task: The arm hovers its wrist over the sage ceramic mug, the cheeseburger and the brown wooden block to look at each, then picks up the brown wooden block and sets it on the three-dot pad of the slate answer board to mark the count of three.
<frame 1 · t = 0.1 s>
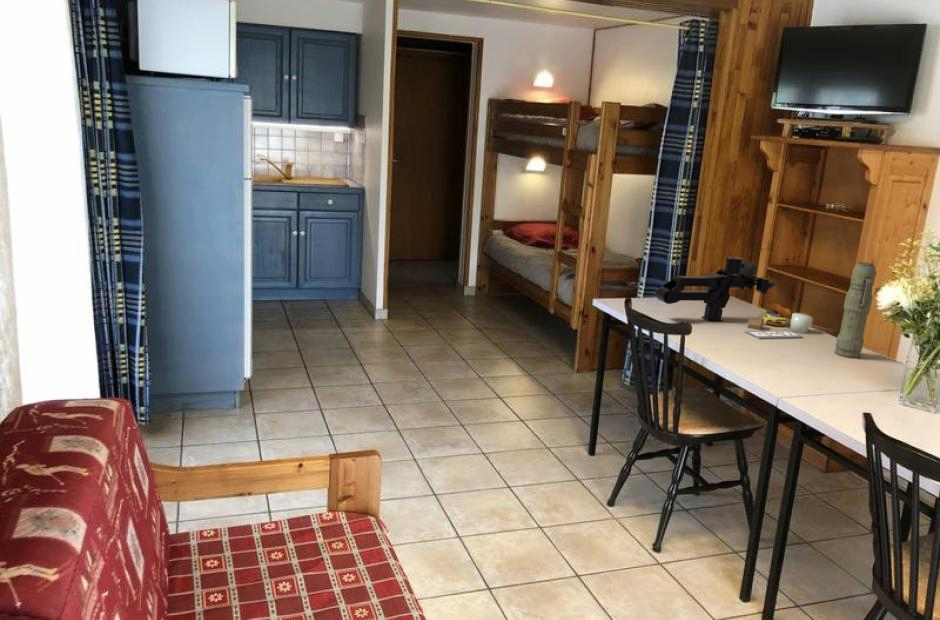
hand: (767, 281, 333), 17 cm above the table, fingers open, 9 cm apart
mug: (798, 331, 321), on the table
thermos: (846, 355, 291), on the table
cheeseburger: (774, 324, 330), on the table
answer board: (773, 335, 311), on the table
brown wooden block: (754, 328, 321), on the table
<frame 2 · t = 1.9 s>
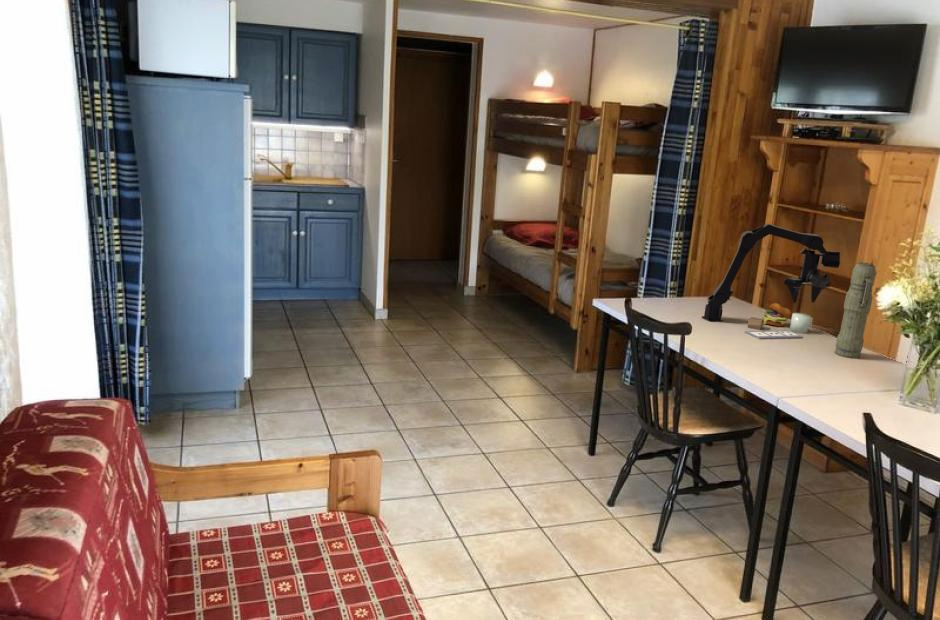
hand: (803, 302, 318), 12 cm above the table, fingers open, 9 cm apart
nothing on the table moved.
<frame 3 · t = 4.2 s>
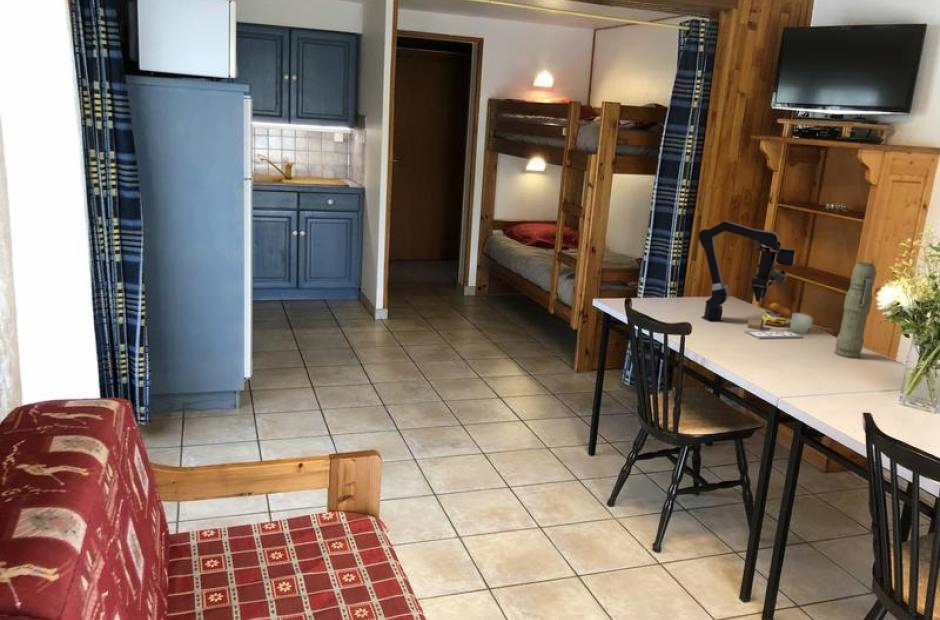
hand: (760, 299, 318), 12 cm above the table, fingers open, 9 cm apart
nothing on the table moved.
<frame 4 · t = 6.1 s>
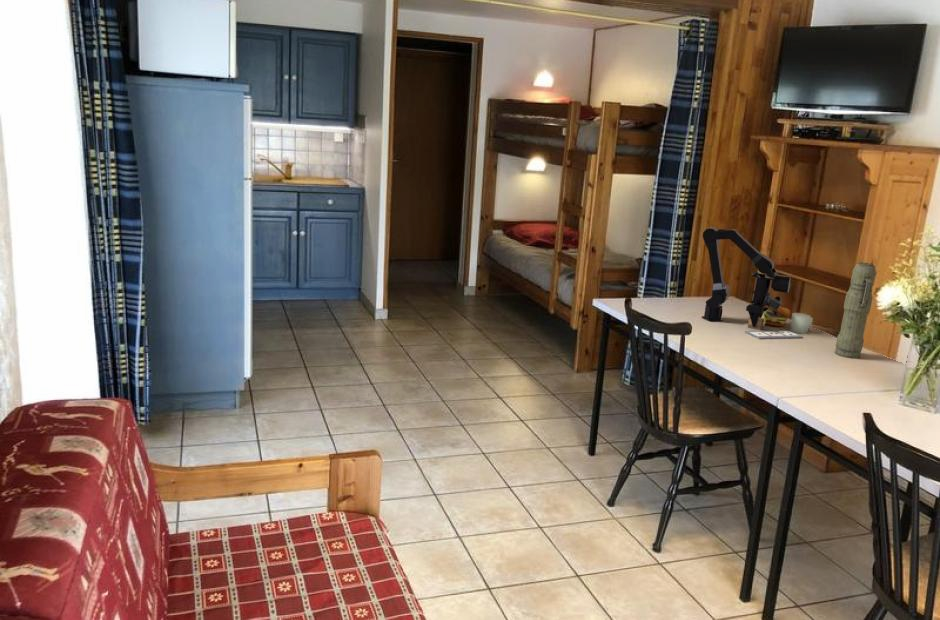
hand: (755, 325, 321), 1 cm above the table, fingers closed on brown wooden block, 5 cm apart
brown wooden block: (755, 327, 321), on the table, touching gripper
everything else where it was.
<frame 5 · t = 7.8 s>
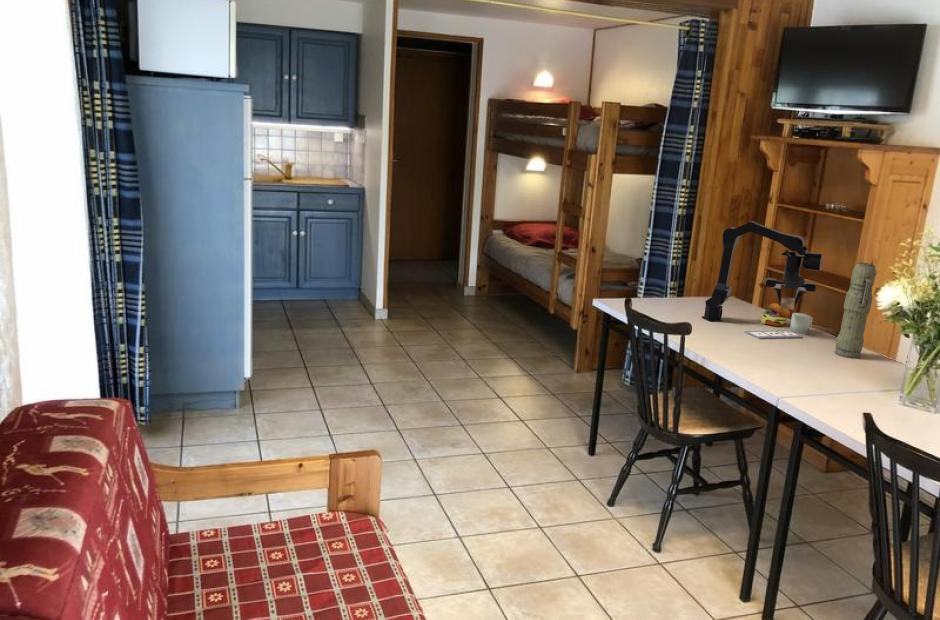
hand: (787, 305, 312), 12 cm above the table, fingers closed on brown wooden block, 5 cm apart
brown wooden block: (786, 308, 312), point 11 cm above the table, touching gripper
everything else where it was.
when the fingers open (3 cm above the table, at t = 9.8 s): brown wooden block drops 1 cm, resting on answer board.
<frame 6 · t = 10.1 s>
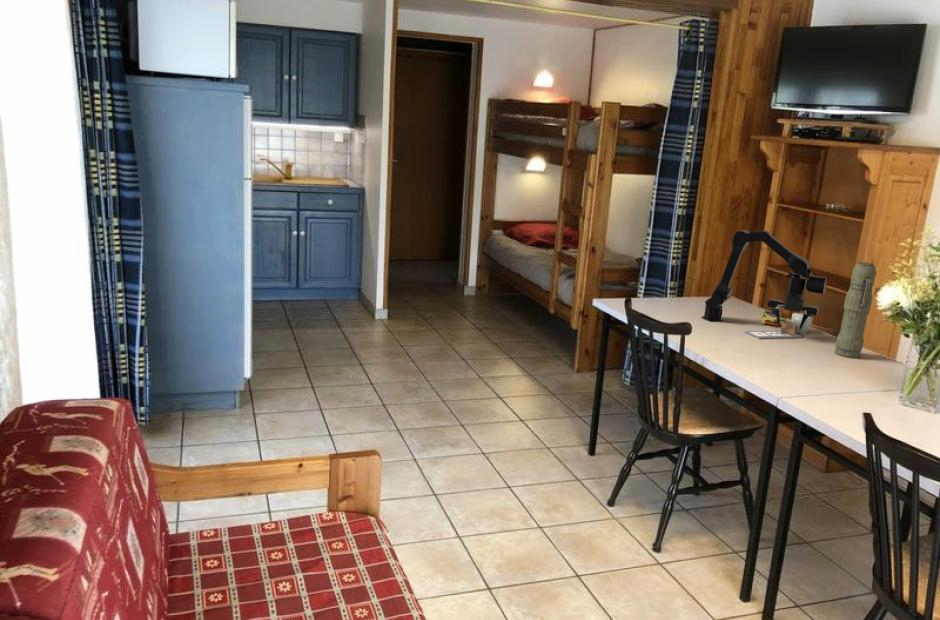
hand: (789, 327, 313), 3 cm above the table, fingers open, 8 cm apart
brown wooden block: (788, 333, 313), point 1 cm above the table, touching answer board
everything else where it was.
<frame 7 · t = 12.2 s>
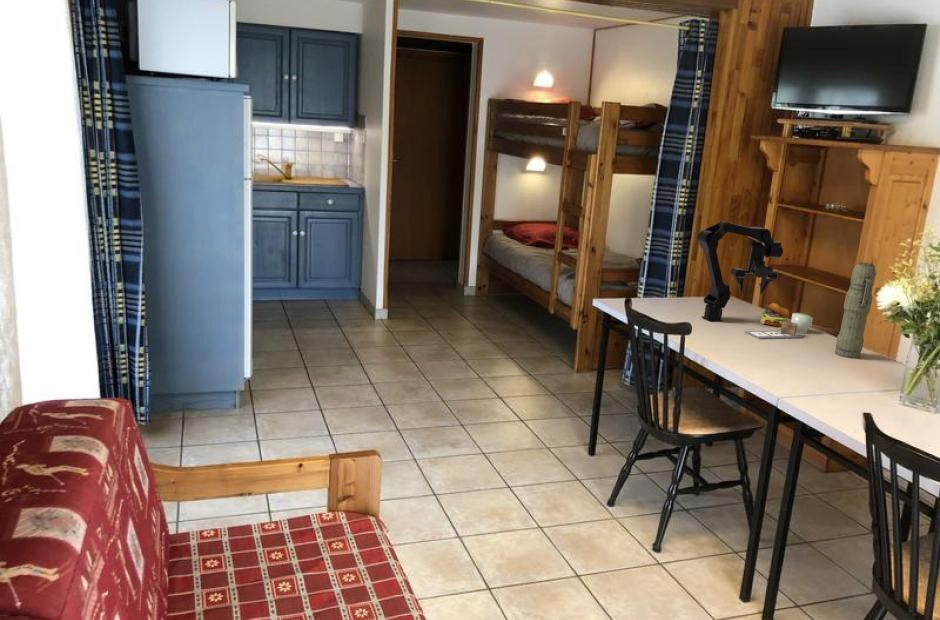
hand: (750, 293, 331), 12 cm above the table, fingers open, 9 cm apart
nothing on the table moved.
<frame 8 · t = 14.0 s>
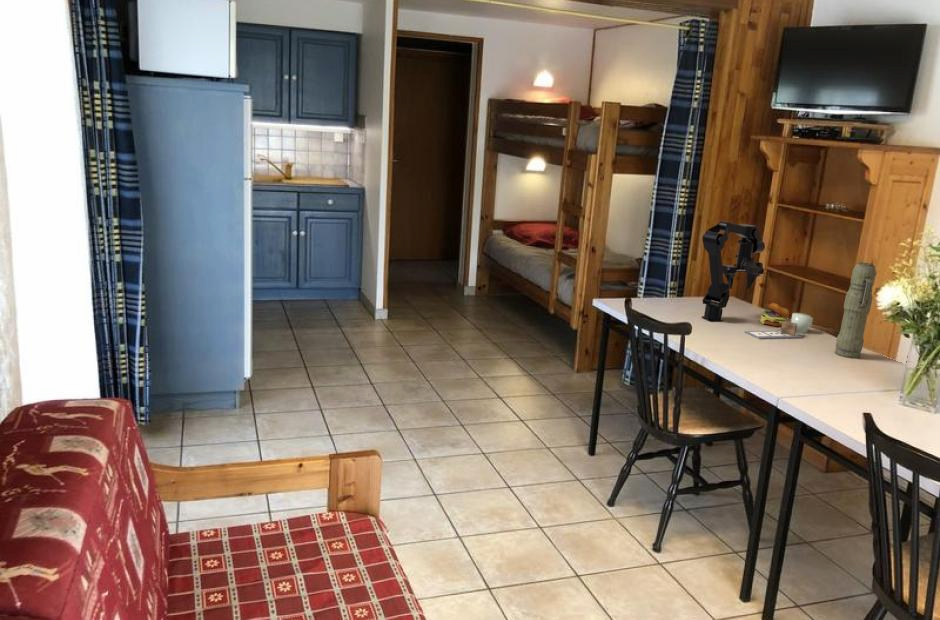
hand: (739, 288, 337), 12 cm above the table, fingers open, 9 cm apart
nothing on the table moved.
at the end: brown wooden block 0.0 cm from the target spot on the answer board, point 0.8 cm above the answer board's base; the gripper is holding nothing; mug moved 0.1 cm from its start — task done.
